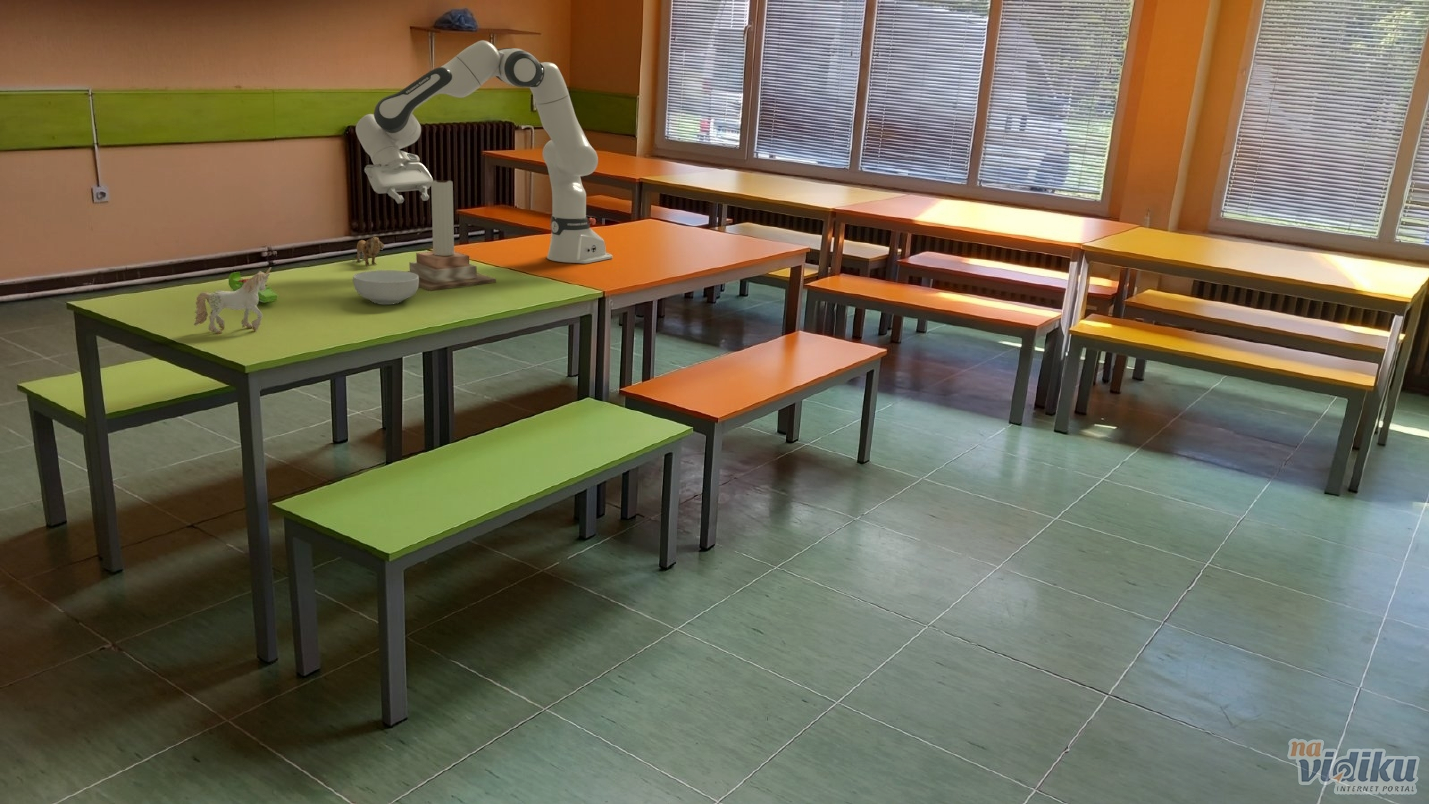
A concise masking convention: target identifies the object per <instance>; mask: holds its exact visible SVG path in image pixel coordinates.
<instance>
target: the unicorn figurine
mask: <svg viewBox="0 0 1429 804" xmlns="http://www.w3.org/2000/svg"><path fill="white" fill-rule="evenodd" d="M271 269H272V267H270V266H269V268H268V269H267V270H266V271H265V272H263V271H261V270H259V271H258V272H257V273H256V274H254V275H253V276H251V278H247V279H248V280H247V281H246V283H244V284H243V285H242V287H241V288H240V289H238V290H236V291H233V290H232V291H229V290H227V291H226V290H216V291H212V292H206V291H203V292H202V291H201V292H200V293H199V294H198V296H197V297H196V302H195V305H196V307H195V308H196V309H197V310H195V311H194V314H196V316H195V318H194V319H195V322H194V324H193V325H194V326H197V325H201V324H203V323H205V322H206V321H207V319H208V318H209V324H208V330H209V331H210V333H213V332H214V333H215V334H217V335H221V334H222V333H223V331H222V330H225V326H226V324H225V319H224V318H222V317H221V316H220V312H221V311H222V310H223V309H229V310H234V311H240V310H244V316H243V318H242V320H241V322H240V323H241V326H242V328H245V327H246V328H247V329H252V330H254V331H253V332H256V331H257V330H259V327H260V326H261V325H262V324H261V322H262V319H263V312H261V310H260V309H259V308H258V304H259V302H260V301H259V297H258V292H259V289H260V291H264V290H266V287H265V284H266V283H267V282H268V280H269V277H270V274H271V273H270V272H271ZM206 302H207V303H208V306H209V307H210V308H211V311H210V313H209V314H210V315H209V314H208V311H207V305H206ZM250 311H251V312H253V313H255V314H256V315H257V318H256V319H254V320H253V321H252V322H251V323H250V322H249V315H250ZM208 315H209V316H208ZM215 319H216V320H215ZM216 324H218V327H219V328H218V327H217V326H216ZM251 327H253V328H251ZM221 329H222V330H221Z"/></svg>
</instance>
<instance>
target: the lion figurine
mask: <svg viewBox="0 0 1429 804" xmlns="http://www.w3.org/2000/svg"><path fill="white" fill-rule="evenodd" d="M384 247H385V244H384V243H383V242H382V241H380V239H379V237H377V236H373V237H371V238H369V239H367V240H366V241H365V240H363V239H361V240H359V241H358V242H357V245H356V252H357V253H356V254H357V255H355V256H354V259H356V263H361V260H362V261H364V263H365V265H367V266H366V267H369V266H370V262H369V257H370V258H371V265H372V264H376V265H377V263H376V262H375V259H376V256H377V255H378V253H380V250H381V251H383V249H384ZM360 257H361V258H360ZM360 259H361V260H360Z"/></svg>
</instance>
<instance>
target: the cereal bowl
mask: <svg viewBox="0 0 1429 804" xmlns="http://www.w3.org/2000/svg"><path fill="white" fill-rule="evenodd" d="M406 271H407V270H406ZM406 271H404V270H391V269H390V270H383V269H381V270H370V271H369V270H368V271H362V272H357V273H356V274H353V276H352V281H353V282H352V283H353V286H354V289H355V291H356V293H357V294H358V295H359V296H361V297H363V298H364V299H367V300H370V302H371V303H373V302H374V303H373V304H376V303H379V304H378V305H394V304H393V303H397V304H400V303H402V302H403V301H404V300H406V299H409V298H411V297H413V296H414V295H415V294H416V293H417V291H418V288H419V286H418V285H419V276H418V275H417V274H415V273H411V272H406ZM399 302H400V303H399Z"/></svg>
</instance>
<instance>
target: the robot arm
mask: <svg viewBox="0 0 1429 804" xmlns="http://www.w3.org/2000/svg"><path fill="white" fill-rule="evenodd" d="M494 77H496V79H499V80H500V81H502V82H503V83H505V84H507V85H509V86H511V87H512V86H513V87H518V88H529V89H530V92H531V93H532V95H533V96H532V97H533V101H534V103H535V106H536V109H537V113H538V116H539V119H540V122H541V126H542V128H543V129H544V131H545V132H546V133H547V134H548V136H549V138H550V140H548V141H547V142H546V143H545V145H544V146H543V149H542V159H543V161H544V163H545V165H546V167H547V171H548V176H549V182H550V185H551V186H550V187H551V193H552V194H551V198H552V199H551V201H552V203H551V204H552V206H551V207H552V209H551V211H552V212H551V213H552V215H551V217H550V231H551V233H550V234H551V236H550V244H549V248H548V249H549V250H548V254H547V256H546V259H547V260H550V261H553V262H559V263H574V264H575V263H576V264H590V263H594V262H599V261H600V262H601V261H605V260H606V261H607V260H611V259H613V255H612V254H611V253H609V252H607V251H606V243H605V240H604V239H603V237H601V236H600V235H599V234H598V233H597V232H595V230H593V229H592V228H591V226H590V225H592V226H593V225H596V222H597V220H596V219H595V218H592V217H589V218H588V216H587V192H586V189H585V188H584V186H583V183H582V179H581V177H584V176H589V175H591V174H593V173H594V172H595V171H596V169H597V168H598V164H599V157H598V153H597V151H596V150H595V149H594V147H592V145H591V144H590V142H589V141H588V139H587V136H586V135H585V132H584V130H583V128H582V126H581V125H580V123H579V121H578V118H577V116H576V113H575V109H574V106H573V102H572V100H571V97H570V93H569V88H567V87H568V86H567V84H566V81H565V79H564V76H563V75H562V73H561V71H560V69H559V67H558V66H557V65H556V64H555V63H554V62H548V61H547V62H546V61H544V62H540V61H539V60H538V59H537V58H536V57H535V56H534V55H533V54H532V53H530V52H528V51H526V50H523V49H522V48H513V47H506V48H504V47H503V48H499V49H498V48H497V47H496V46H495V45H494V44H493V43H491V42H489V41H488V40H483V39H482V40H478V41H477V42H475V43H473V44H471V45H469V46H467V47H466V48H464V49H463V50H462V51H460V52H459V53H458V54H457V55H455V56H454V57H453V58H452V59H450V60H449V61H447V62H446V63H445V64H443V65H442V66H439V67H436V68H434V69H431V70H430V71H428V72H427V73H425V74H424V75H422V76H421V77H419V78H418V79H416V80H414V81H413V82H412V83H410V84H409V85H407V86H406V87H405V88H403V89H401V90H400V91H398V92H397V93H393V94H391V95H387V96H385V97H383V98H381V99H380V100H379V101H377V104H376V105H375V107H374V110H373V111H374V112H373V113H369V114H365V115H364V116H363V117H361V118H360V119H359V120H358V122H357V123H356V126H355V133H356V136H357V139H358V140H359V142H360V144H361V146H362V148H363V150H364V152H365V153H367V154H368V155H369V157H370V159H371V162H372V164H367V165H365V167H364V173H365V174H366V175H367V178H368V181H369V184H370V186H371V188H372V189H373V191H374V192H375V193H376V194H388V196H389V197H391V199H393V200H395V202H396V203H397V204H403V203H404V201H405V198H404V197H403V195H402V194H399V193H401V192H411V191H419V192H420V193H421V195H420V199H421V200H422V201H424V202H425V201H429V199H430V195H429V194H428V190H429V189H431V188H430V187H431V181H434V179H433V177H432V175H431V173H430V172H429V170H428V168H426V166H425V165H424V164H423V163H421V162H420V161H421V160H420V157H419V156H418V155H417V154H413V153H410V152H409V153H408V152H406V151H404V150H402V149H405V148H407V147H410V146H411V145H414V144H415V143H417V141H418V140H419V139H420V137H421V134H422V126H421V124H420V122H419V121H418V119H417V117H416V116H415V115H414V114H413V113H414V111H415V110H416V109H417V108H418V107H420V106H422V105H423V104H424V103H426V102H427V101H429V100H430V99H432V98H433V97H434V96H437V95H441V94H442V95H448V96H451V97H454V98H461V99H463V98H466V97H468V96H469V95H471V94H473V93H475V92H476V91H477V90H478V89H480V87H482V86H483V85H484V84H485V82H487V81H488V80H490V79H492V78H494Z"/></svg>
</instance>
